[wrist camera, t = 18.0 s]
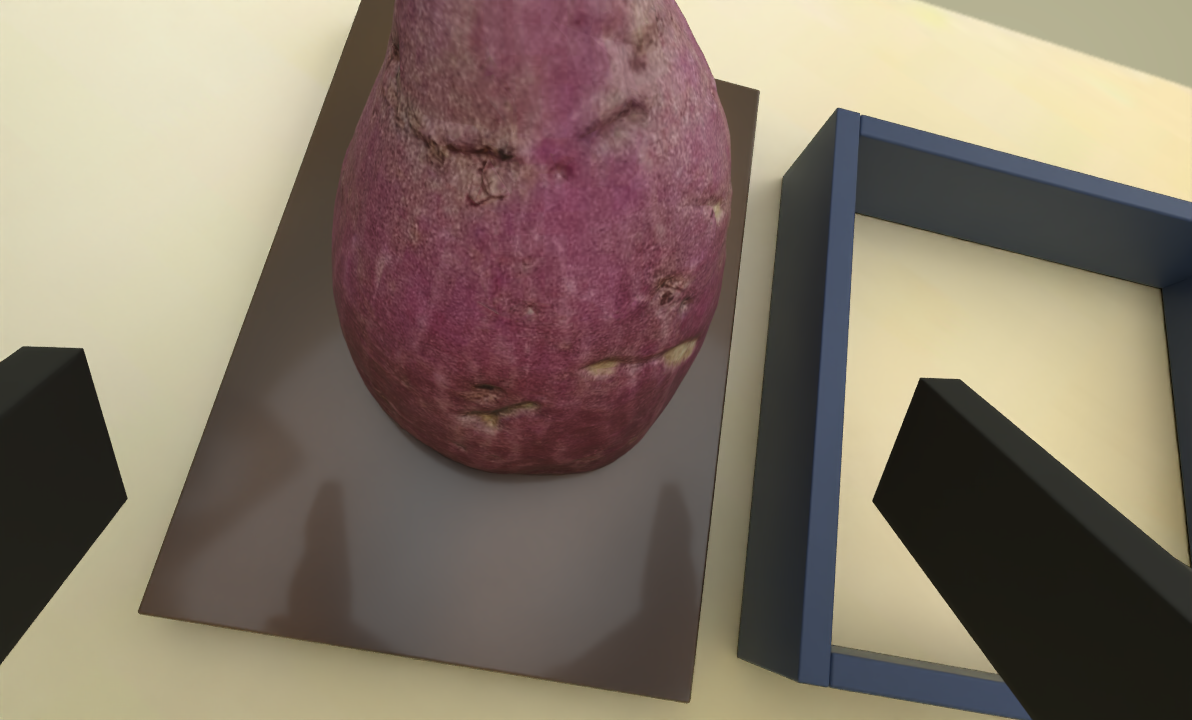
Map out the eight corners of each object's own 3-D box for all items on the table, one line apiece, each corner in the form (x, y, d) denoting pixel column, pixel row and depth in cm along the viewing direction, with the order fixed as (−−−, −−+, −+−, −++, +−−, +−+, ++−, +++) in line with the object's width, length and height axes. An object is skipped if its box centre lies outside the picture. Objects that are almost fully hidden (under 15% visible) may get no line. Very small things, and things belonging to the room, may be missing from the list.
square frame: (736, 657, 19) (797, 682, 15) (782, 176, 24) (837, 106, 20) (1230, 742, 21) (1395, 784, 17) (1176, 275, 26) (1294, 228, 22)
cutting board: (164, 609, 17) (135, 613, 16) (373, 19, 23) (365, -15, 22) (675, 692, 19) (691, 704, 17) (745, 116, 25) (760, 89, 23)
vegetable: (346, 270, 22) (-99, -357, 9) (621, 165, 24) (595, -519, 10) (437, 560, 18) (-197, 162, 4) (772, 409, 19) (1081, -251, 6)
